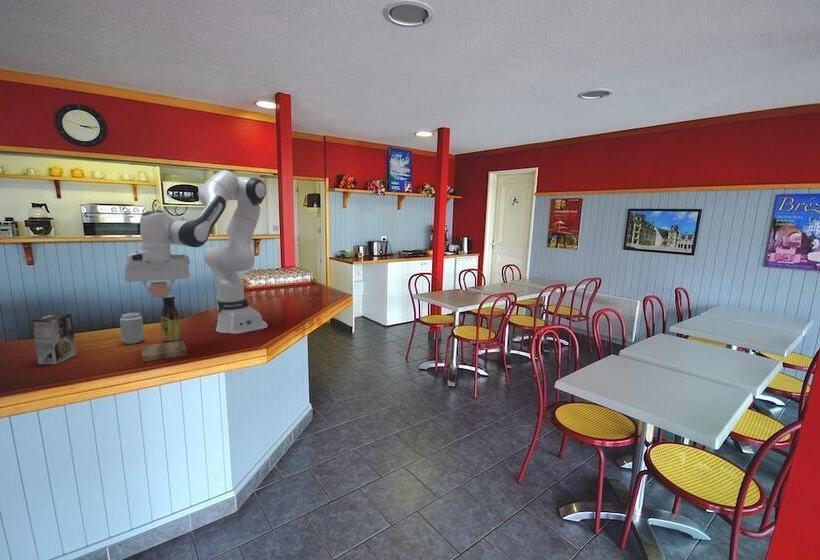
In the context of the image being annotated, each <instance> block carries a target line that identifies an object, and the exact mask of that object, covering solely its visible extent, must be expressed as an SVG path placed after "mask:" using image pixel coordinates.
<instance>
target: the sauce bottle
mask: <svg viewBox="0 0 820 560" xmlns="http://www.w3.org/2000/svg"><path fill="white" fill-rule="evenodd" d="M175 298H176V297H175V295H173V294H170V295H169V294H168V297H162V300H163V307H162V311H161V314H160V326H161V339H162V343H169V342H177V341H180V320H179V310H178V309H177V308H176V305H175Z"/></svg>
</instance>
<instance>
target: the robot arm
mask: <svg viewBox="0 0 820 560" xmlns="http://www.w3.org/2000/svg"><path fill="white" fill-rule="evenodd" d="M266 194H267V188H266V184H265V182H264V181H263V180H262V179H259V178H257V177H249V176H236V174H234V173H233V172H232V171H230V170H227V169H222V170H220V171H218V172H216V173H215V174H213V175H211V176H210V177H209V178H208V179H206V181H205V182H204V183H203V184H202V185H201V186H200V187H199V190H198V192H197V196H198V200H199V201H200V203H201V204H202V205H203V207H204V209H202V211H201V213H200V214H199V216H198V217H197V218H194V219H190V220H185V219H184V220H183V219H182V220H181V219H177V218H175V217H173V216H171V215H170V214H167V212H166V211H164V210H149V211H145V212H143V213H141V215H140V219H139V226H140V227H139V232H140V237H141V240H142V244H141V250H140V251H135V252H133V253H129V254H127V257H126V258H127V261H126V263H125V266H124V267H125V269H124V280H125V281H126V282H127V283H128V282H129V283H133V282H142V285H143V287H145V289H146V293H148V294H152V291H151V286H148V285H147V284H148V282H152V281H167V280H169V281H170V284H169V285H167V286H168V292H172V291H173V286H174V284H175V283H176V280H182V279H188V278H190V276H191V275H190V274H191V273H190V268H189V265H190V263H191V262H190V257H189V256H188V255H186V254H172V253H171V252H172V251H171V245H176V246H186V247H190V248H200V247H202V246H204V245H205V244H206V242H207V241H208V239H209V237H210V233H211V232H212V230H213V228H214V226H216V224H217V222H218V221H219V219H220V218H221V216H222V215H223V213H224V211H225V210H226V207H227V203H228V201H229V200H230V201H236V202H237V205H236V206H237V207H236V209H234V212H233V215H232V217H231V219H230V221H229V223H228V226H227V228H226V234H227V236H228V237H229V242H228V245H215V246H210V247H208V248H207V249H206V250H205V251H204V255H203V259H204V262H205V264H206V265H207V266H208V267H209V268H210V270H211V272H212V274H213V277H214V279H215V283H216V289H217V301H216V309H217V313H218V315H217V323H216V324H217V325H216V328H215V331H216V332H217V333H221V334H233V335H239V334H243V333H249V332H252V331H253V332H254V331H259V330H265V329H267V328H268V322H266V321H264V320H263V316H262V314H261V313H260V312H259V311H258V310H256V309H254V308H253V307H251V305H252V301H251V300H249V299H247V298H245V290H244V288H245V287H244V286H245V285H244V282H243V280H242V279H241V278H240V277H239V275H238V274H237V272H245V271H249V270H251V269H252V268H253V267H254V264H255V262H256V258H255V254H254V252H253V251H252V248H251V247H252V245H251V244H252V238H253V236H254V233H255V229H256V227H257V224H258V222H259V219H260V214H261V206H260V204H262V202H263V200H264V199H265V197H266ZM264 328H265V329H264Z"/></svg>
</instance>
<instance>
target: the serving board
mask: <svg viewBox="0 0 820 560" xmlns="http://www.w3.org/2000/svg"><path fill="white" fill-rule="evenodd" d="M187 349H188V348H187V347H186V343H185V341H184V340H179V341H177V342H169V343H163V342H162V343H155V344H149V345H141V361H142V363H144V362H150V361H151V360H152V361H156V360H157V359H158V360H165V359H171V358H177V357H182V356H188V350H187ZM170 357H171V358H170ZM164 358H165V359H164Z"/></svg>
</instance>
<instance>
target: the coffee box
mask: <svg viewBox="0 0 820 560" xmlns="http://www.w3.org/2000/svg"><path fill="white" fill-rule="evenodd" d="M31 322H32V328H33V329H32V330H33V334H34V335H33V336H34V343H35V350H36V357H37V364H38V365H58V364H60V363H62V362H65V361H66V360H68V359H71V358H73V357H75V356H77V350H76V340H75V335H74V326H73V319H72V313H59V312H57V313H55V312H54V313H50V314H47V315H44V316H41V317H38V318H35V319H32V321H31Z"/></svg>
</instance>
